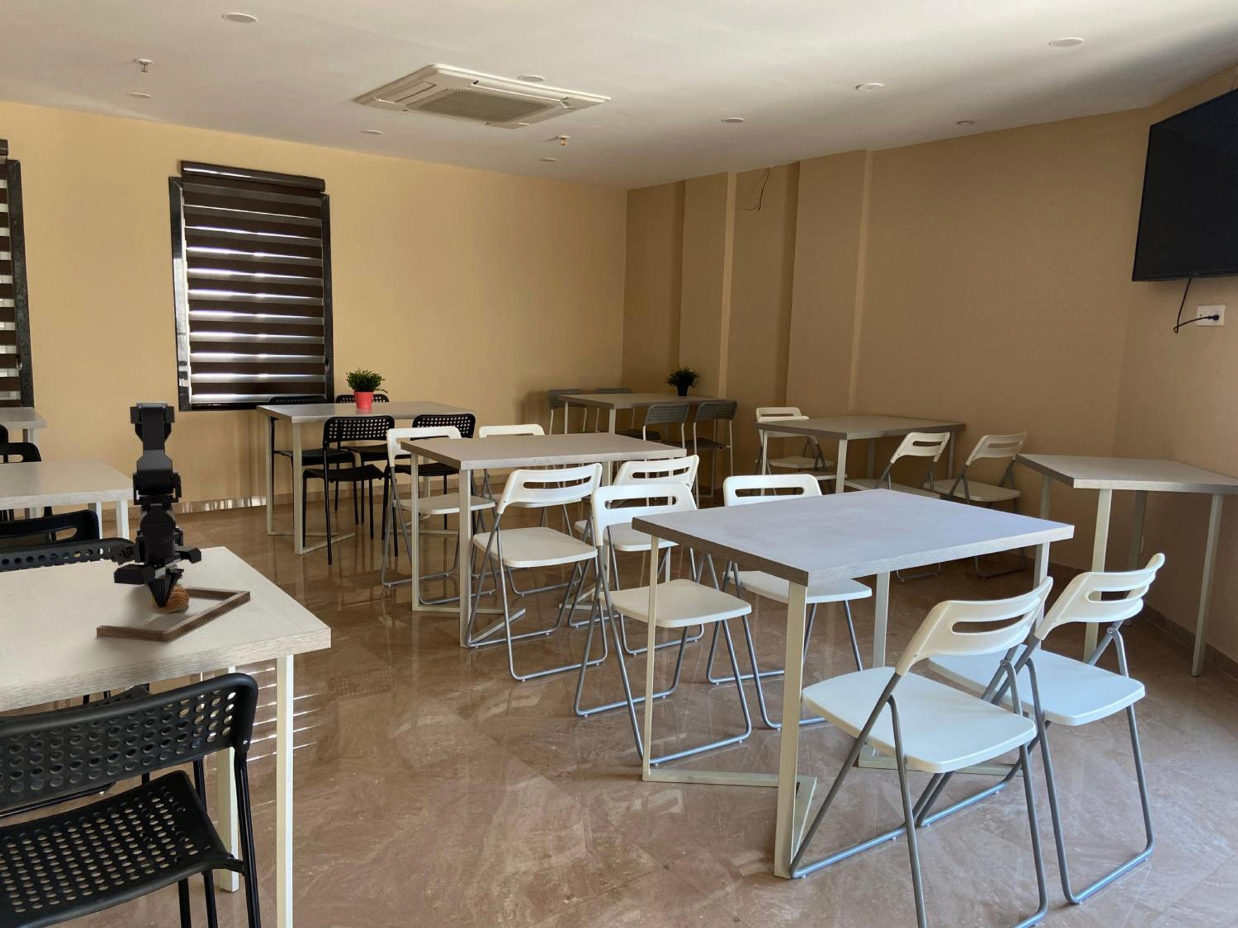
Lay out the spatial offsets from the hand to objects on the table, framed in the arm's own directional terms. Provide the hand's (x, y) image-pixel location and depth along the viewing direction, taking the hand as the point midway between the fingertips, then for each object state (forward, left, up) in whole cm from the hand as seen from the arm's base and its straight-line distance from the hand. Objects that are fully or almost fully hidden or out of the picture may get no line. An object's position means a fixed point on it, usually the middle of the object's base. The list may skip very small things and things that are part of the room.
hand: (161, 606), depth 176 cm
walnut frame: (0, +3, -1) cm, 3 cm away
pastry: (-5, -1, -2) cm, 6 cm away
